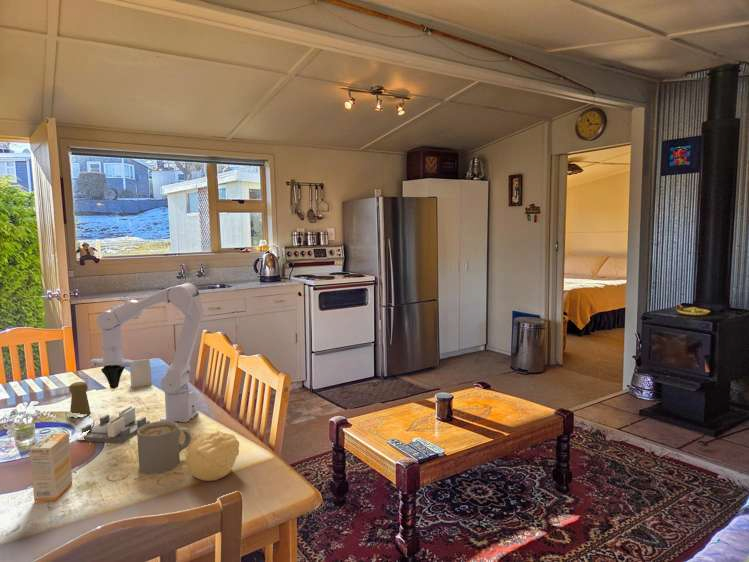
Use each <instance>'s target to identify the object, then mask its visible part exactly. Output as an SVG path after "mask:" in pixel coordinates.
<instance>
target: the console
mask: <svg viewBox="0 0 749 562" xmlns="http://www.w3.org/2000/svg"><path fill="white" fill-rule="evenodd" d="M114 419H115V418H111V417H110V414H105V415H103V416H101V417H99V423H98V424H97V425H95V426H93V425H92V424H86V425H84V426H83V427H82V428H80V429H81V430H80V431H81V434H82V433H83V432H86V431H88V430H90V431H89V432H88V433H87V435H86V436H84V439H85V440H89V441H88V442H95V443H110V444H111V443H112V444H123V443H124V442H126V441H127V440H129V439H130V438H132V437H134V436H135V435H136V434H137V431H138V429H139V428H140V427H142V426H143V425H146V424H149V423H151V422H150V420H147V416H141V418H139V419H136V420H134V421H133V422H131V423H129V424H128V425H126V426H125V428H124V429H123V430H121V431H120V434H118V435H117V436H115V437H108V429H107V423H109V422H111V421H112V420H114ZM92 426H93V427H92Z"/></svg>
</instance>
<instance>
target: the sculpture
mask: <svg viewBox="0 0 749 562" xmlns="http://www.w3.org/2000/svg"><path fill="white" fill-rule="evenodd" d="M239 447H240V442H239V440H238V439H237V437H236V436H235V435H234V434H232V433H226V432H223V431H222V432H221V431H220V430H217V431H216V432H211V433H206V434H203V435H201V436H199V437H198V438H196V439H195V440H194V441H193V442H192V443H191V445H190V446H189V449H188V451H187V455H186V465H187V467H188V471H189V472H190V474H191V475H192V476H193V477H195V478H196V479H199V480H201V481H205V482H211V481H217V480H221V479H222V478H224V477H225V476H227V475H229V474H230V472H231V471H232V468H233V466H234V464H235V462H236V460H237V457H238V456H239V453H240V448H239Z"/></svg>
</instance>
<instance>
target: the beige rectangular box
mask: <svg viewBox="0 0 749 562" xmlns="http://www.w3.org/2000/svg"><path fill="white" fill-rule="evenodd" d="M129 372H130V373H129V374H130V377H129V378H130V386H131V387H132V388H133V389H134V388H139V386H140V387H145V386H150V385H149V384H151V385H152V384H153V382H152V381H153V380H152V368H151V362H150V358H144V359H136V360H135V367H132V368H130V369H129ZM144 385H145V386H144Z"/></svg>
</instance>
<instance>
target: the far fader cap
mask: <svg viewBox="0 0 749 562" xmlns="http://www.w3.org/2000/svg"><path fill="white" fill-rule="evenodd" d="M120 416H121V417H124V418H125V426H126V425H128V424H129V423H131V422H133V421H134V420H137V419H136V407H134V406H129V407H127V408H125V409H124V410H121V411H120V412H118V417H120Z"/></svg>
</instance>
